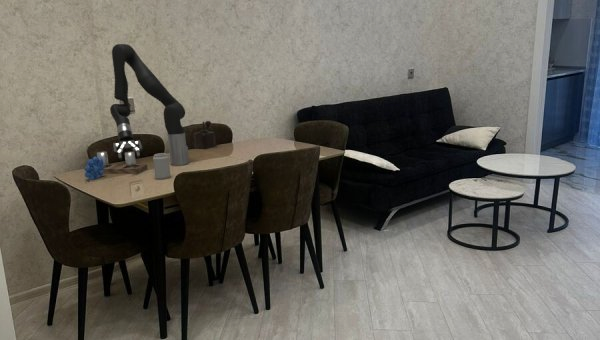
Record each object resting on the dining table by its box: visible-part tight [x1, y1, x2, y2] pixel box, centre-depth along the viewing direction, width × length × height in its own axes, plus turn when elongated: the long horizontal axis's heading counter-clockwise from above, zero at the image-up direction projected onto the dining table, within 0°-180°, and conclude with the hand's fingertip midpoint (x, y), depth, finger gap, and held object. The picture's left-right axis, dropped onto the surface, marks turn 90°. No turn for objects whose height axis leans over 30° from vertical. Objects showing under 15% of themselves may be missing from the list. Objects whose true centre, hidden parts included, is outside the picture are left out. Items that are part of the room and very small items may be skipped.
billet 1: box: [96, 151, 110, 168], centre depth 270 cm, size 5×5×10 cm
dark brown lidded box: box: [192, 120, 217, 150], centre depth 327 cm, size 16×11×18 cm
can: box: [152, 152, 171, 180], centre depth 254 cm, size 8×8×12 cm
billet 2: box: [124, 150, 137, 168], centre depth 267 cm, size 5×5×10 cm
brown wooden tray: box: [102, 163, 149, 176], centre depth 269 cm, size 28×11×4 cm, turn 78°
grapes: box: [84, 155, 105, 181], centre depth 255 cm, size 12×7×12 cm, turn 146°
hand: (129, 158), depth 269 cm, fingers open, 8 cm apart
